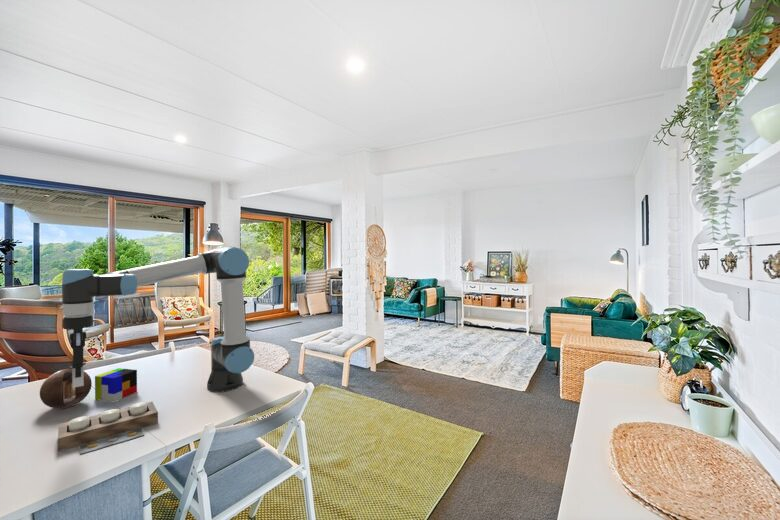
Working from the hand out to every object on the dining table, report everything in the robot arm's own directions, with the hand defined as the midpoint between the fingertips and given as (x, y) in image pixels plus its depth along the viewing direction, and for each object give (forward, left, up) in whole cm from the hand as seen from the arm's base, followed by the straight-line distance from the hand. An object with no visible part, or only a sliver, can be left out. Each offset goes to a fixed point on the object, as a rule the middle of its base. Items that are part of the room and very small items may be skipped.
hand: (78, 386), depth 112 cm
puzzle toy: (+15, -33, -18) cm, 40 cm away
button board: (-8, -3, -18) cm, 20 cm away
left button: (0, 0, -15) cm, 15 cm away
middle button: (-6, -6, -15) cm, 17 cm away
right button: (-11, -11, -15) cm, 22 cm away
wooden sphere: (+26, -22, -18) cm, 38 cm away
